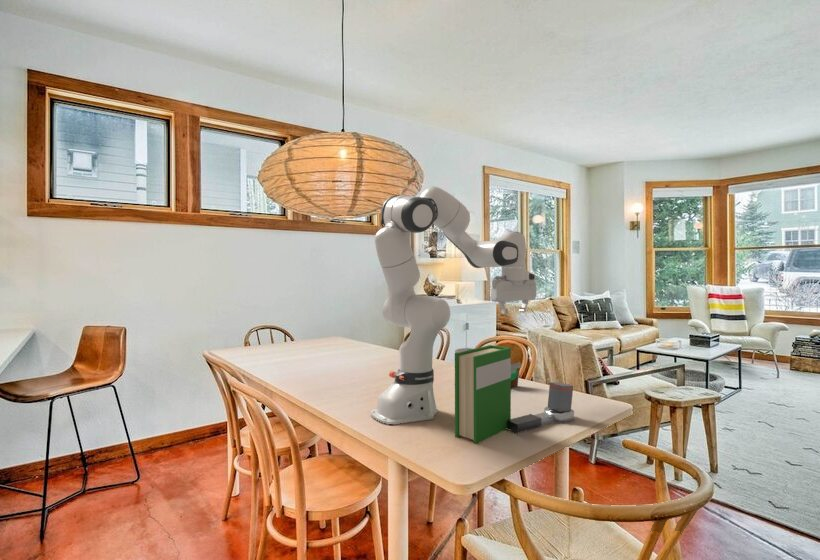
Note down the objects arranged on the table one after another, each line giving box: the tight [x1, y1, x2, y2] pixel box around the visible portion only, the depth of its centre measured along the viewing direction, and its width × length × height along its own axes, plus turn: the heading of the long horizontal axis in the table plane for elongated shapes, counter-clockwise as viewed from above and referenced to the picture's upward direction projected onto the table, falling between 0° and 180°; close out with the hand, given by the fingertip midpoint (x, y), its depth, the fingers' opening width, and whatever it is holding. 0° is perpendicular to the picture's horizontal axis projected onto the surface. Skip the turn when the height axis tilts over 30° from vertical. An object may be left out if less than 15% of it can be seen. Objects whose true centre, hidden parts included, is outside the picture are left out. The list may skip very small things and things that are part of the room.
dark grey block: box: [547, 381, 574, 412], centre depth 140 cm, size 5×5×8 cm
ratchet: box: [506, 406, 575, 434], centre depth 135 cm, size 25×9×6 cm, turn 121°
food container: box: [511, 361, 522, 389], centre depth 176 cm, size 12×6×10 cm, turn 70°
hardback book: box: [454, 344, 512, 445], centre depth 128 cm, size 18×7×24 cm, turn 136°
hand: (513, 313), depth 163 cm, fingers open, 8 cm apart
